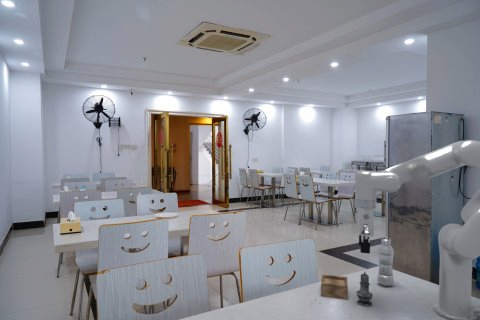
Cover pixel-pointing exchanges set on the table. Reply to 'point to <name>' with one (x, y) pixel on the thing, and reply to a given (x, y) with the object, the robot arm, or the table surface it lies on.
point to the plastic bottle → (385, 263)
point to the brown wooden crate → (334, 286)
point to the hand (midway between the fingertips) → (364, 249)
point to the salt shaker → (364, 291)
